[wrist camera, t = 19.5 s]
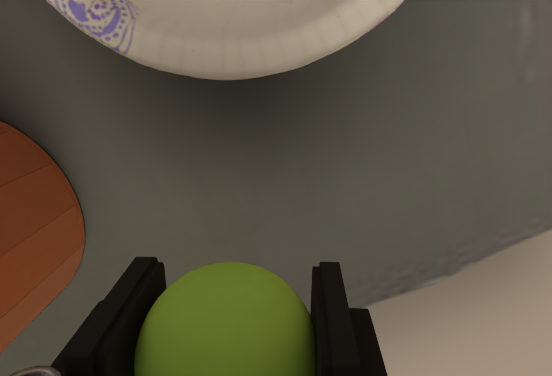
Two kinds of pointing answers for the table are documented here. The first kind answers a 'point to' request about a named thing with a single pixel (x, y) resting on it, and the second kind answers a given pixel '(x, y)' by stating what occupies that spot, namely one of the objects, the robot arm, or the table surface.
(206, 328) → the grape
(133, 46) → the paper bowls
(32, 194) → the crock
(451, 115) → the table surface
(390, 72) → the table surface
